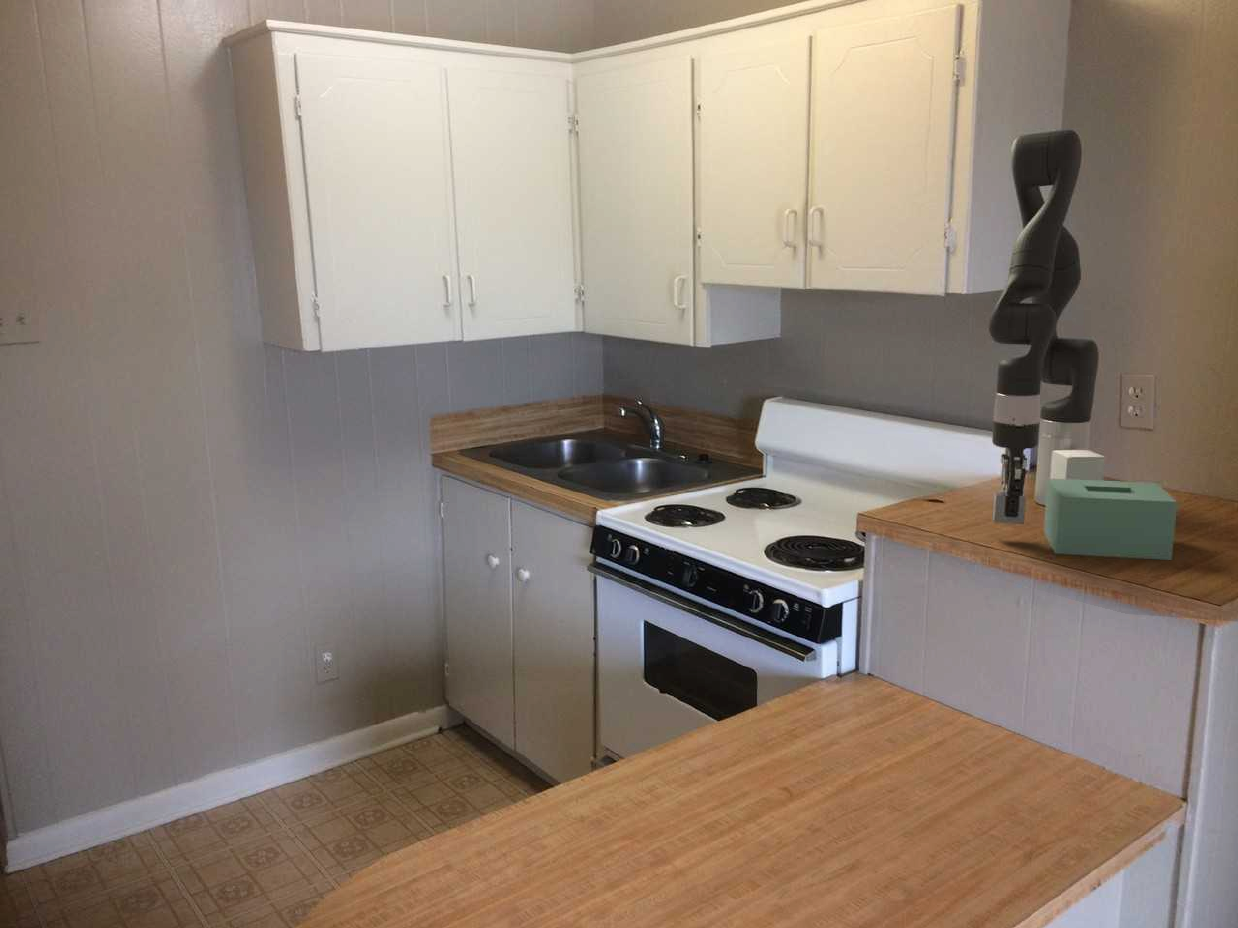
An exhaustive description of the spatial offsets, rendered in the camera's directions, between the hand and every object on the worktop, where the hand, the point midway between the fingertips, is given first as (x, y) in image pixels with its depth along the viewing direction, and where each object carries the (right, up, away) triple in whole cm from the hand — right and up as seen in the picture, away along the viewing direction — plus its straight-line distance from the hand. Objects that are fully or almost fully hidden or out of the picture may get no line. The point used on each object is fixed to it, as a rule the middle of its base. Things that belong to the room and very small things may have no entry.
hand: (1010, 514), depth 183 cm
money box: (+15, -5, -3) cm, 16 cm away
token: (0, -1, 0) cm, 1 cm away
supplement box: (+18, -2, +15) cm, 24 cm away
